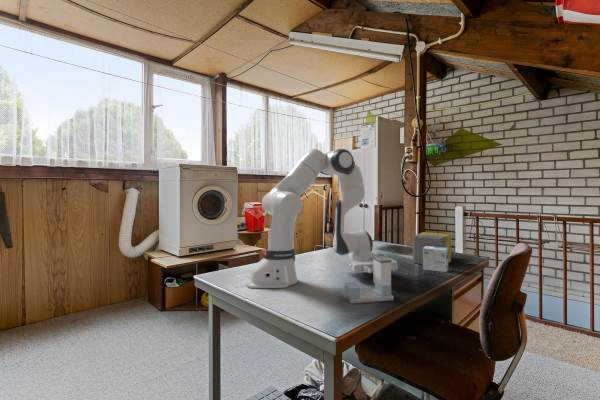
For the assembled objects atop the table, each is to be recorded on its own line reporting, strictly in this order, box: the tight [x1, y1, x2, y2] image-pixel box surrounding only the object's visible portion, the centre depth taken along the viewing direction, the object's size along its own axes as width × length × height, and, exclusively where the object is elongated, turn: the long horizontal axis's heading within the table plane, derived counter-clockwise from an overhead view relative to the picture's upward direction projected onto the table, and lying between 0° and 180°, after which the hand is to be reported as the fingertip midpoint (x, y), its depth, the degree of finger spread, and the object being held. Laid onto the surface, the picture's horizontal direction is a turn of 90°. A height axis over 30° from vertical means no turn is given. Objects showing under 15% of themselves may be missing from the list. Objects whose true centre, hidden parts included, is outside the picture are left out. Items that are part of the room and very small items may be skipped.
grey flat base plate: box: [342, 288, 394, 305], centre depth 113 cm, size 16×8×2 cm, turn 101°
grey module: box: [372, 256, 392, 286], centre depth 128 cm, size 5×7×11 cm, turn 11°
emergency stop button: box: [412, 231, 452, 266], centre depth 167 cm, size 15×24×15 cm, turn 139°
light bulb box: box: [422, 246, 449, 273], centre depth 151 cm, size 11×7×11 cm, turn 58°
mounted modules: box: [344, 280, 392, 298], centre depth 113 cm, size 16×6×4 cm, turn 101°
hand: (382, 270), depth 128 cm, fingers open, 8 cm apart
